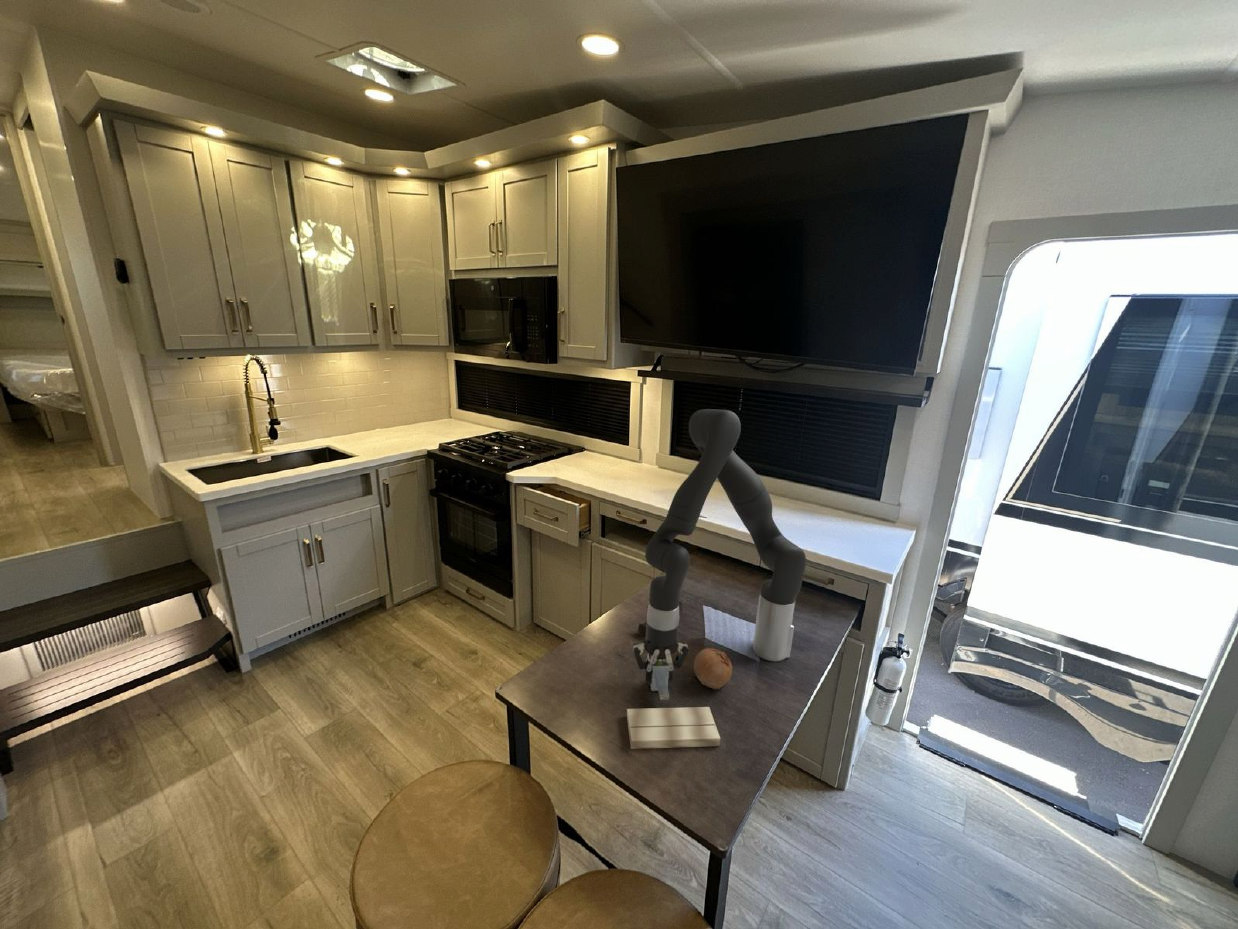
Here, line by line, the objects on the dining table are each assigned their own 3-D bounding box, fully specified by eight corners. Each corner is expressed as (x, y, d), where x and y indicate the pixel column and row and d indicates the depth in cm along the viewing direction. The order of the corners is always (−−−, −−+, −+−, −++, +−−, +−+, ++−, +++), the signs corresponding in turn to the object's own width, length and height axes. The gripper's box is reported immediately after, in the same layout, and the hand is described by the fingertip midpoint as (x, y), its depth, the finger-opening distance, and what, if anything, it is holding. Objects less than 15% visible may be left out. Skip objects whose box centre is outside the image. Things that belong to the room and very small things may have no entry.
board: (708, 714, 113) (709, 706, 113) (719, 746, 104) (720, 738, 104) (626, 716, 111) (627, 708, 111) (631, 749, 103) (631, 741, 102)
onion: (724, 692, 125) (746, 664, 122) (706, 702, 117) (729, 672, 115) (698, 662, 130) (719, 635, 127) (679, 670, 123) (701, 641, 120)
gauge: (664, 679, 123) (666, 652, 121) (672, 708, 114) (674, 680, 111) (648, 679, 123) (650, 652, 121) (655, 709, 113) (657, 680, 111)
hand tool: (647, 640, 139) (648, 626, 138) (637, 634, 142) (638, 620, 141) (689, 617, 152) (690, 603, 151) (679, 611, 155) (680, 598, 154)
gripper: (688, 611, 121) (683, 670, 125) (631, 611, 119) (627, 671, 124) (695, 629, 113) (689, 691, 118) (635, 630, 112) (631, 693, 116)
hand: (658, 681), depth 121 cm, fingers closed on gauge, 4 cm apart
